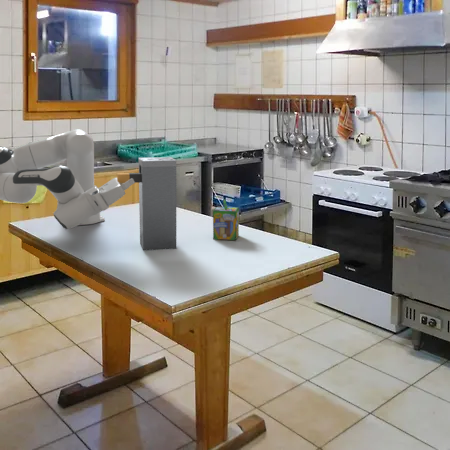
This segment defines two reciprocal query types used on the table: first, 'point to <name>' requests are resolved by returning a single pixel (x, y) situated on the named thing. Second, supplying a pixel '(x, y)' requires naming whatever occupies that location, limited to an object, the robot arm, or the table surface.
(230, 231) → the chalk box
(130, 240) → the table surface
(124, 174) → the plug rod
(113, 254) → the table surface
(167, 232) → the housing
